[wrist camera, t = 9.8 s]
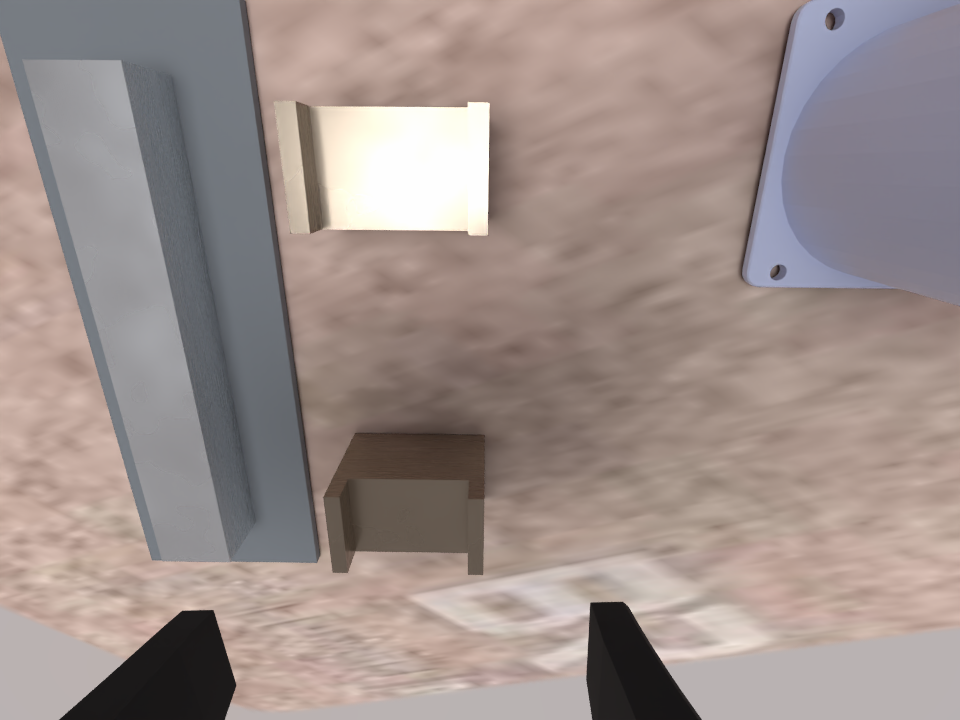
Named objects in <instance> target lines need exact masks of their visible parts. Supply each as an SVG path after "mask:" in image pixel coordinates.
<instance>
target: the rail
mask: <svg viewBox="0 0 960 720" xmlns="http://www.w3.org/2000/svg"><path fill="white" fill-rule="evenodd" d="M22 61H23V65H24V68H25V72H26V75H27V79H28V83H29V86H30V90H31V93H32V97H33V100H34V104H35V108H36V111H37V115H38V118H39V122H40V125H41V129H42V133H43V136H44V140H45V143H46V147H47V151H48V154H49V158H50V161H51V165H52V168H53V172H54V176H55V179H56V183H57V186H58V190H59V193H60V197H61V201H62V204H63V208H64V211H65V215H66V219H67V222H68V226H69V229H70V233H71V236H72V240H73V244H74V247H75V251H76V254H77V258H78V262H79V265H80V269H81V272H82V276H83V279H84V283H85V287H86V290H87V294H88V297H89V301H90V304H91V308H92V312H93V315H94V319H95V322H96V326H97V330H98V333H99V337H100V340H101V344H102V347H103V351H104V355H105V358H106V362H107V365H108V369H109V372H110V376H111V380H112V383H113V387H114V390H115V394H116V398H117V401H118V405H119V408H120V412H121V415H122V419H123V423H124V426H125V430H126V433H127V437H128V440H129V444H130V448H131V451H132V455H133V458H134V462H135V466H136V469H137V473H138V476H139V480H140V483H141V487H142V491H143V494H144V498H145V501H146V505H147V508H148V512H149V516H150V519H151V523H152V526H153V530H154V534H155V537H156V541H157V544H158V548H159V551H160V555H161V559H162V561H187V562H231V560H232V558H233V557H234V555H235V554H236V552H237V551H238V549H239V548H240V546H241V545H242V543H243V542H244V540H245V539H246V537H247V535H248V534H249V532H250V531H251V529H252V528H253V526H254V525H255V523H256V519H255V514H254V509H253V503H252V498H251V493H250V487H249V482H248V477H247V471H246V466H245V461H244V455H243V450H242V445H241V439H240V434H239V429H238V423H237V418H236V413H235V407H234V402H233V397H232V391H231V386H230V381H229V375H228V370H227V365H226V359H225V354H224V349H223V343H222V338H221V332H220V327H219V322H218V316H217V311H216V306H215V300H214V295H213V290H212V284H211V279H210V274H209V268H208V263H207V258H206V252H205V247H204V242H203V236H202V231H201V226H200V220H199V215H198V210H197V204H196V199H195V194H194V188H193V183H192V178H191V172H190V167H189V162H188V156H187V151H186V145H185V140H184V135H183V129H182V124H181V119H180V113H179V108H178V103H177V97H176V92H175V87H174V81H173V76H172V75H169V74H165V73H162V72H159V71H155V70H152V69H149V68H145V67H142V66H138V65H135V64H132V63H128V62H125V61H122V60H23V59H22Z"/></svg>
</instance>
